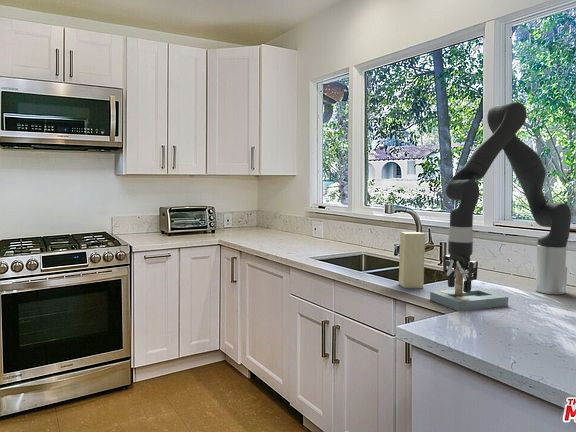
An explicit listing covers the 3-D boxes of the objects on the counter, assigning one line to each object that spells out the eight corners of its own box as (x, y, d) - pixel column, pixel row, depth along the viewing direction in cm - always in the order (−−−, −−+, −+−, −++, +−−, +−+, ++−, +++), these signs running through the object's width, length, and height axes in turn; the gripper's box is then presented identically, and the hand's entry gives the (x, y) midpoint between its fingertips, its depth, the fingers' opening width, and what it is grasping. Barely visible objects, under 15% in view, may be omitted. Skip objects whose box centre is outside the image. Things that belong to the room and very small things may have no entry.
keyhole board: (476, 295, 157) (477, 286, 157) (507, 305, 144) (508, 296, 144) (430, 299, 151) (430, 291, 151) (458, 311, 138) (458, 301, 137)
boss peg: (459, 301, 149) (460, 263, 148) (468, 305, 145) (470, 266, 144) (448, 302, 148) (449, 264, 147) (457, 306, 143) (458, 266, 142)
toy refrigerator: (417, 283, 175) (419, 231, 174) (424, 288, 168) (425, 233, 166) (398, 283, 175) (399, 231, 174) (403, 288, 168) (404, 233, 166)
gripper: (486, 242, 139) (484, 293, 140) (455, 237, 153) (453, 283, 154) (466, 243, 137) (464, 295, 138) (437, 237, 150) (435, 285, 151)
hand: (458, 289), depth 146 cm, fingers open, 7 cm apart
